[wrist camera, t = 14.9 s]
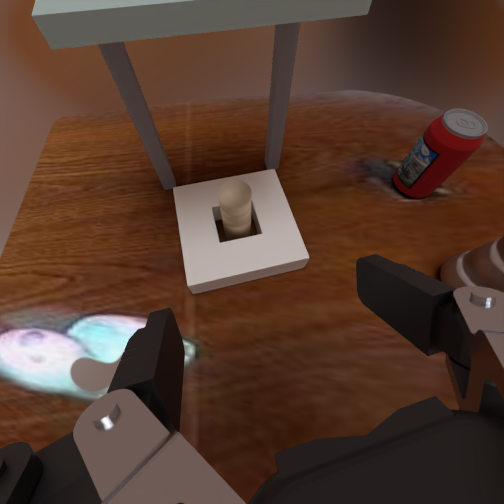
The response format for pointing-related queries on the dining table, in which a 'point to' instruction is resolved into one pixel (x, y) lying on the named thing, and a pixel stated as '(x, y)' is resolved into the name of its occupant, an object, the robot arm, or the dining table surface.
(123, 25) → the two-legged shelf table
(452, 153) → the beverage can
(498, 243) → the plastic bottle
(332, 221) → the dining table surface
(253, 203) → the socket
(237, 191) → the peg
